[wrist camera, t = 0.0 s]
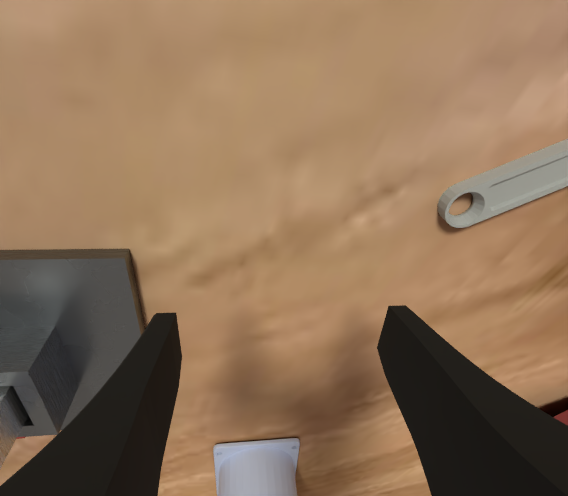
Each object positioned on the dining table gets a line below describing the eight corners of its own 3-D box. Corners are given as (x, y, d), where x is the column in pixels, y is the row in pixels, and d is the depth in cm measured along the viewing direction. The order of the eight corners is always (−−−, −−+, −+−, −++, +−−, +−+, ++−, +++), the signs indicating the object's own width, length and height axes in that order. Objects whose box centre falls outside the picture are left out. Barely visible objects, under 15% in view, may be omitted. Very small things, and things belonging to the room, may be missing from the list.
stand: (161, 411, 30) (150, 468, 26) (-52, 425, 28) (-98, 489, 24) (128, 248, 21) (106, 298, 18) (-183, 251, 19) (-284, 308, 16)
